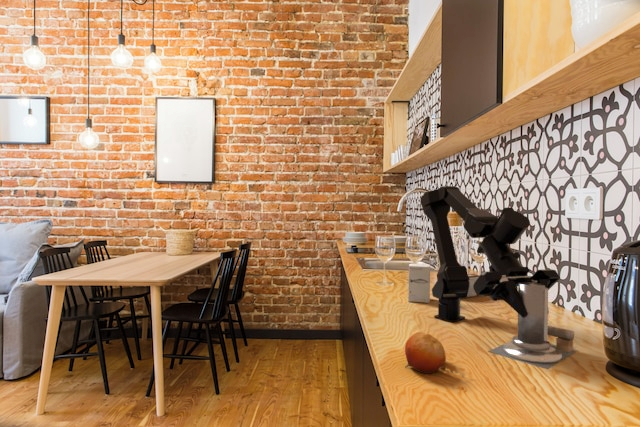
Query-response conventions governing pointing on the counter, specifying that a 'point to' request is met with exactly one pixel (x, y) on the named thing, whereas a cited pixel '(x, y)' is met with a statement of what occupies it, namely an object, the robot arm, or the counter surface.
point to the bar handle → (562, 338)
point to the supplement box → (419, 283)
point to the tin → (472, 280)
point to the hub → (533, 318)
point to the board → (500, 352)
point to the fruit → (424, 353)
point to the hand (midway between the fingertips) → (536, 315)
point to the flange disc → (533, 354)
